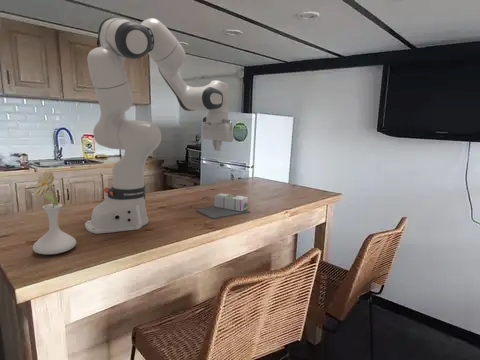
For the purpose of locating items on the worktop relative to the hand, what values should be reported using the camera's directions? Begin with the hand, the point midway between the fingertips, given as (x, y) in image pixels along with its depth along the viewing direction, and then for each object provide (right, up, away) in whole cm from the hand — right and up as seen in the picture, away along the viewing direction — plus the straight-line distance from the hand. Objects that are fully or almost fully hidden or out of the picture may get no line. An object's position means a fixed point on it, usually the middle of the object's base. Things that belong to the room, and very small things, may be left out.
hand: (216, 150), depth 143 cm
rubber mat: (+3, -27, 0) cm, 27 cm away
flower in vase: (-45, -35, -48) cm, 74 cm away
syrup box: (0, -22, +7) cm, 23 cm away
